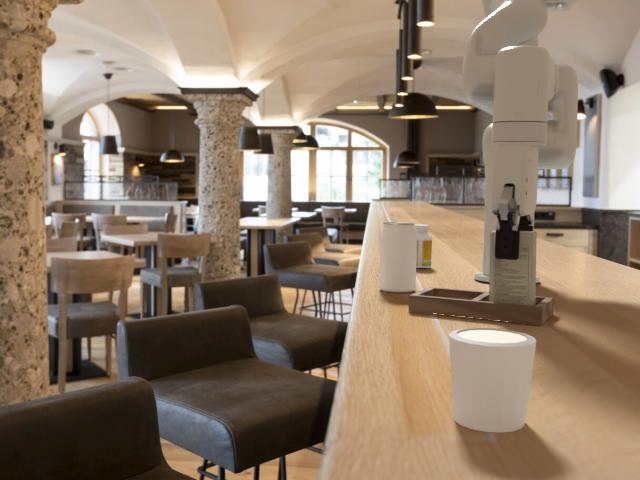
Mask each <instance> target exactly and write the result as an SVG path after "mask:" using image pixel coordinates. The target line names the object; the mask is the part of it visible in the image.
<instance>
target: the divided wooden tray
mask: <svg viewBox="0 0 640 480" xmlns="http://www.w3.org/2000/svg"><path fill="white" fill-rule="evenodd" d="M554 300H555V298H554V296H553V297H549V296H540V295H536V297H535V306H531V305H520V304H509V303H498V302H489V291H482V290H469V289H459V288H446V287H435V286H429V287H426V288H424V289H422V290H419V291H417V292H415V293H414V292H413V293H412V294H409V295H408V313H414V314H423V315H424V314H426V315H432V314H433V313H437V314H444V315H455V316H465V317H473V318H482V319H490V320H500V321H508V322H516V323H515V324H518V323H525V324H524V325H527V324H534V325H533V326H537V325H542V324H543V325H544V324H545V323H546V322H547V321H548V320H549V319H550V318H551V317H552V316H553V315H554V302H555V301H554ZM508 322H507V323H508ZM543 325H542V326H543Z"/></svg>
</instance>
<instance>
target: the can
mask: <svg viewBox="0 0 640 480" xmlns="http://www.w3.org/2000/svg"><path fill="white" fill-rule="evenodd" d="M415 224H416V223H415V222H404V221H403V222H402V221H388V222H387V221H384V222H383V225H382V228H381V229H380V238H379V239H380V241H379V268H378V269H379V273H378V275H379V277H378V280H379V281H378V285H379V286H378V287H379V289H380V291H381V292H385V293H391V294H409V293H414V291H415V290H416V286H417V285H416V283H417V269H416V260H417V231H416V228H415Z"/></svg>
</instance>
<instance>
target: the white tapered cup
mask: <svg viewBox="0 0 640 480" xmlns="http://www.w3.org/2000/svg"><path fill="white" fill-rule="evenodd" d="M448 342H449V345H448V347H449V359H450V375H451V376H450V377H451V378H450V379H451V392H452V393H451V394H452V411H453V419H454V422H456V423H457V424H458V425H460V426H462V427H464V428H467V429H469V430H470V429H471V430H474V431H479V432H483V433H484V432H485V433H498V434H500V433H501V434H502V433H511V432H512V433H513V432H515V431H519V430H521V429H523V428H524V426H525V425H526V417H527V413H528V411H527V410H528V403H529V396H530V391H531V390H530V389H531V383H532V377H533V370H534V369H533V368H534V361H535V354H536V347H537V339H536V338H535V337H534V336H532V335H530V334H528V333H523V332H520V331H514V330H510V329H502V328H495V327H494V328H492V327H491V328H490V327H489V328H488V327H475V328H474V327H472V328H471V327H470V328H469V327H467V328H460V329H455V330H452V331H451V332H449V333H448Z"/></svg>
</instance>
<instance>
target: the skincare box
mask: <svg viewBox="0 0 640 480" xmlns="http://www.w3.org/2000/svg"><path fill="white" fill-rule="evenodd" d="M495 239H496V231H492V232H490V281H489V282H488V284H489V290H488V292H489V302H498V303H509V304H520V305H531V306H535V297H536V296H537V295H536V292H537V291H536V290H537V288H536V286H537V285H536V284H537V283H536V275H537V231H536V230H535V231H520V242H519V258H518V259H517V260H507V259H496V258H495Z"/></svg>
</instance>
